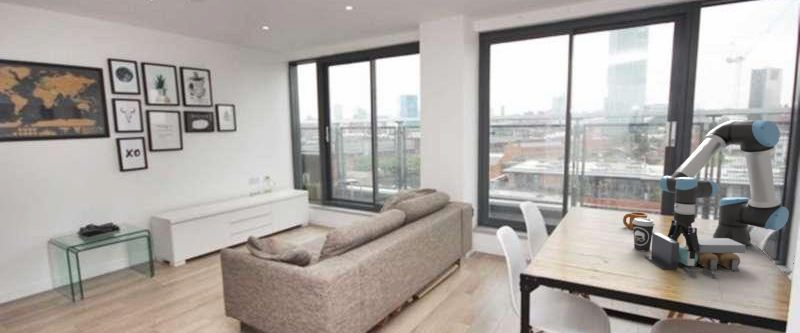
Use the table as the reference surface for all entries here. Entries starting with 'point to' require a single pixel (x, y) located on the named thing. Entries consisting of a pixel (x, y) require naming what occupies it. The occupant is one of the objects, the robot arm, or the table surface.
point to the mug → (632, 216)
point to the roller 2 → (705, 258)
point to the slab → (720, 245)
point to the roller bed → (713, 268)
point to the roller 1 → (684, 255)
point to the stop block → (664, 252)
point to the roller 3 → (726, 258)
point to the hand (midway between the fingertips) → (681, 260)
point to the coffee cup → (642, 233)
